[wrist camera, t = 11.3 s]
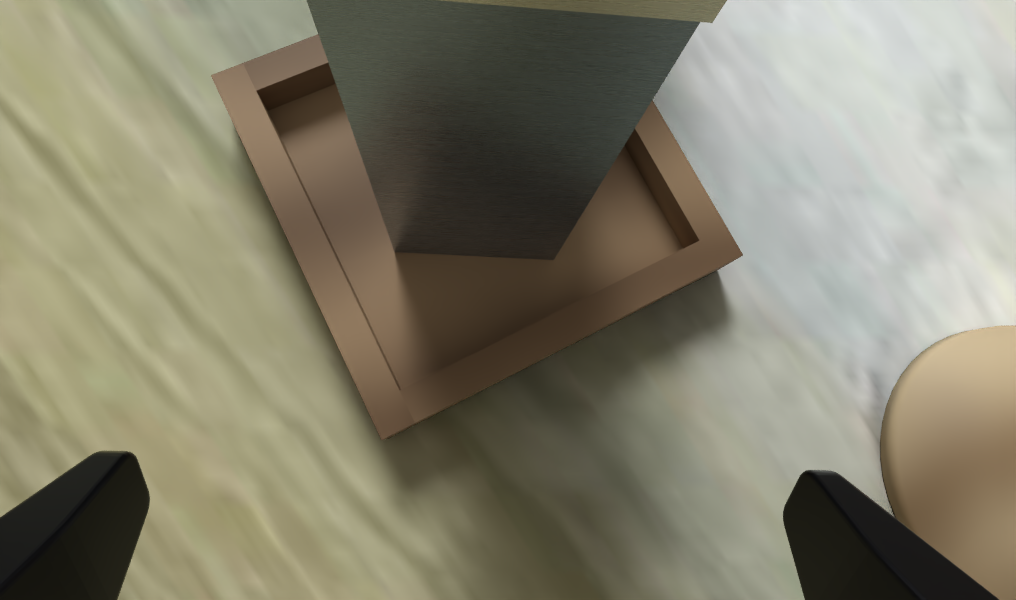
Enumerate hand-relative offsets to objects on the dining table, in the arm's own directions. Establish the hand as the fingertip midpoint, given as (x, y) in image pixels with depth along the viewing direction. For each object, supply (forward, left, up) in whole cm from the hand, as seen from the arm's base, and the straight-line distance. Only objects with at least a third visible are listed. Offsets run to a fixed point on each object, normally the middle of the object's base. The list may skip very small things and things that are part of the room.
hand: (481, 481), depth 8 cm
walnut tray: (+7, -4, -10) cm, 13 cm away
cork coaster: (-9, -16, -10) cm, 21 cm away
